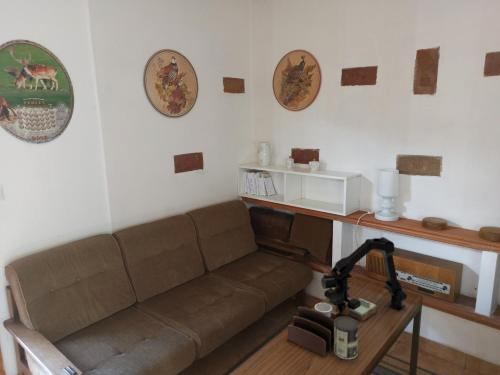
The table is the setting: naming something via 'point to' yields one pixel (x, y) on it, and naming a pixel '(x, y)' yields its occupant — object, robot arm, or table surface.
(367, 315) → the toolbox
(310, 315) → the letter holder
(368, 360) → the table surface
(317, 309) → the dixie cup
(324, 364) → the table surface
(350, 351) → the coffee can
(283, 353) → the table surface
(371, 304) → the lid
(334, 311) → the block
